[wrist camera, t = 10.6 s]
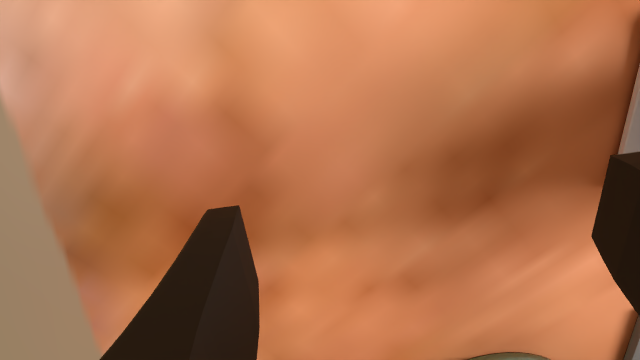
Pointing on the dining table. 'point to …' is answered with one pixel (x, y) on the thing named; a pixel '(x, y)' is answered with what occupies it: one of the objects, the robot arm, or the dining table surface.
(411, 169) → the dining table surface
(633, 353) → the mat
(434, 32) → the dining table surface
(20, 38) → the dining table surface
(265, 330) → the dining table surface
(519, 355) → the bowl
